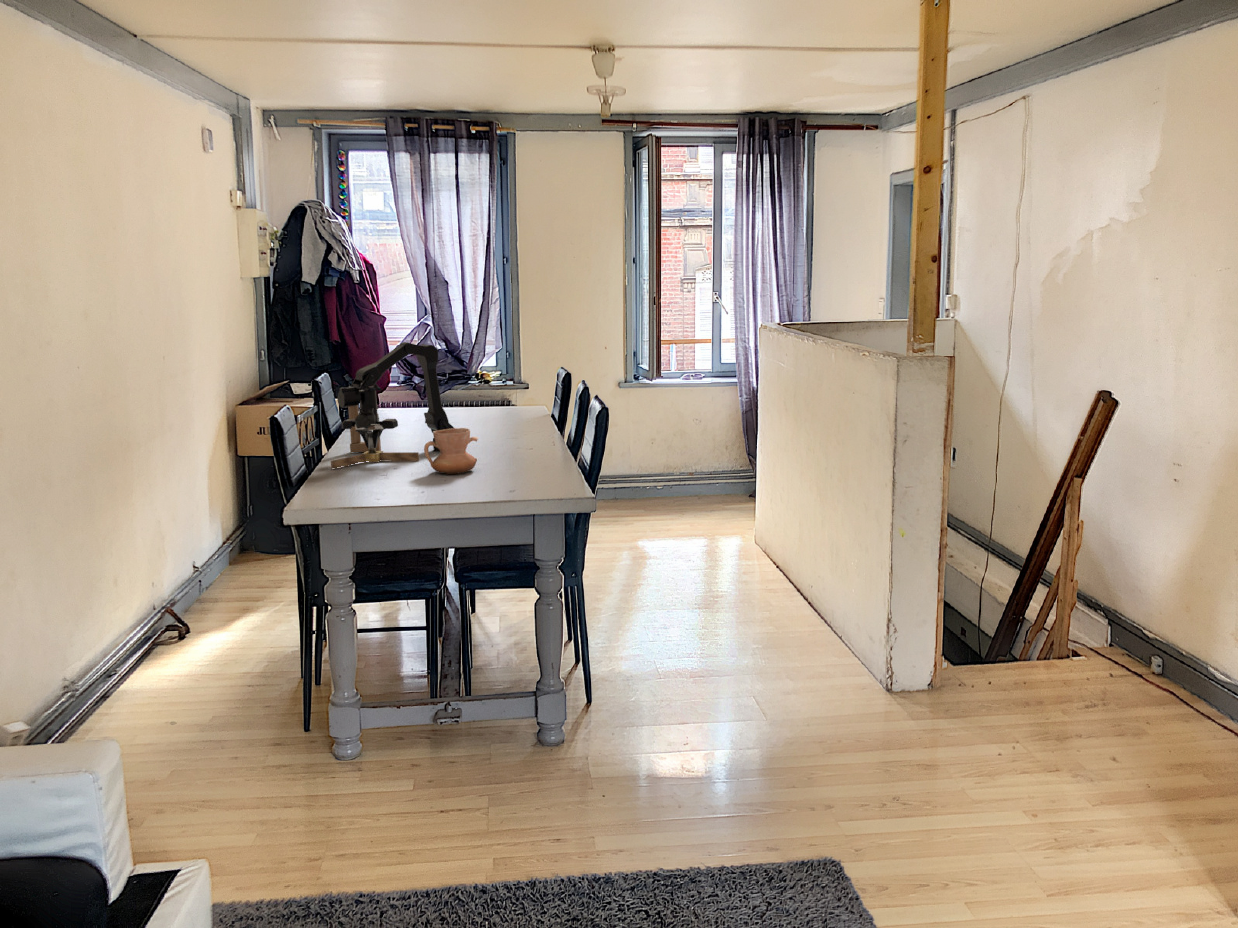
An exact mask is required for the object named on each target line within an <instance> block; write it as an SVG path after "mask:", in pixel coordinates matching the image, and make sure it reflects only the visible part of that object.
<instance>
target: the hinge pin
mask: <svg viewBox="0 0 1238 928" xmlns="http://www.w3.org/2000/svg"><path fill="white" fill-rule="evenodd" d="M366 433H367V437H368V450H369V454H376V451H375V448H374V433H373V430H366Z"/></svg>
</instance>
